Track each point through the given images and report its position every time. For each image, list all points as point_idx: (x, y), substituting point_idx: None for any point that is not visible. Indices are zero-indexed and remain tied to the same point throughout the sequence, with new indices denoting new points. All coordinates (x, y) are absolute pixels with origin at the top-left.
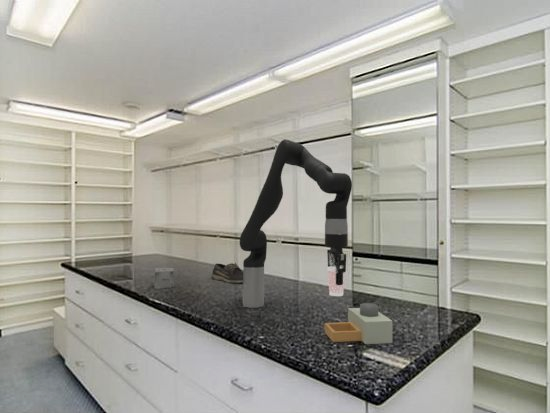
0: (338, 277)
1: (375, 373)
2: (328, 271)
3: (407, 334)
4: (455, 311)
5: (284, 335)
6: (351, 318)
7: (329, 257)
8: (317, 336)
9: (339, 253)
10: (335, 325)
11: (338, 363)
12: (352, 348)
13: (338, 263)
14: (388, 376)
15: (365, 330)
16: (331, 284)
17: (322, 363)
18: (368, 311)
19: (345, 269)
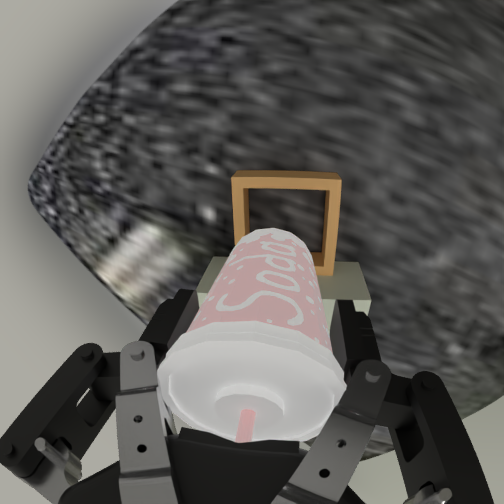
0: (147, 329)
1: (69, 214)
2: (244, 319)
3: None
4: (370, 455)
5: (317, 28)
6: (331, 283)
7: (333, 484)
8: (295, 134)
9: (39, 492)
10: (327, 215)
11: (100, 150)
12: (185, 212)
13: (39, 396)
14: (64, 232)
15: (202, 277)
16: (232, 266)
17: (100, 113)
18: None
19: (90, 396)
